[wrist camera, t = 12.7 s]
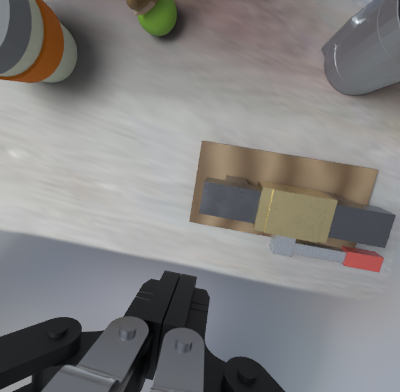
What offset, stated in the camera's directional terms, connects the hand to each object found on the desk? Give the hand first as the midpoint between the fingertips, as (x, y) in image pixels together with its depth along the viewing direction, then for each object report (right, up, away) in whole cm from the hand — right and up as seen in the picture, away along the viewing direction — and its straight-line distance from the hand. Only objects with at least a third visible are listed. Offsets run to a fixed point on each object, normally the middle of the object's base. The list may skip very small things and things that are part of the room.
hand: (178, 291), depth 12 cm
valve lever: (+10, -1, +22) cm, 25 cm away
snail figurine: (-4, +30, +27) cm, 41 cm away
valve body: (+13, +4, +29) cm, 32 cm away
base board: (+13, +5, +30) cm, 34 cm away
